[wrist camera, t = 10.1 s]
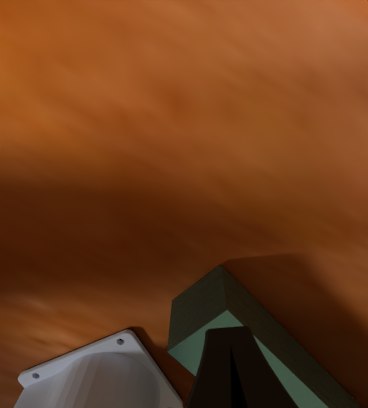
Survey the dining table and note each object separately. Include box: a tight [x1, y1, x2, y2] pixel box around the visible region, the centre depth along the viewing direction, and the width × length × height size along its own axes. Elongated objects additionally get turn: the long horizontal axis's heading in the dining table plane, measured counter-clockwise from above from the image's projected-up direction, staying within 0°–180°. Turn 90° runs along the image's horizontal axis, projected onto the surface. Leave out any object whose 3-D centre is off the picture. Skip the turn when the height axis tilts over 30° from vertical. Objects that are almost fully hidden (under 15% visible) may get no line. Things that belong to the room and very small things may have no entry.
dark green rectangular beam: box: [167, 264, 361, 408], centre depth 20 cm, size 16×4×5 cm, turn 42°
